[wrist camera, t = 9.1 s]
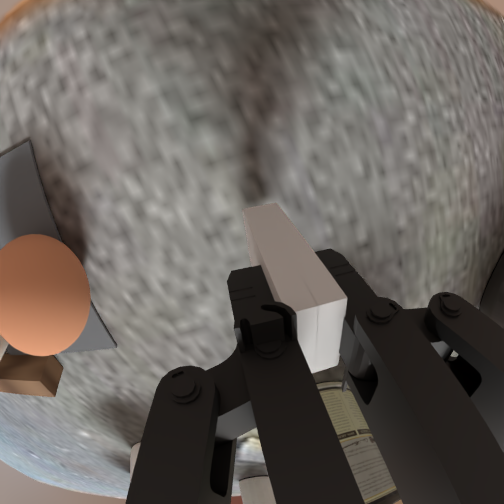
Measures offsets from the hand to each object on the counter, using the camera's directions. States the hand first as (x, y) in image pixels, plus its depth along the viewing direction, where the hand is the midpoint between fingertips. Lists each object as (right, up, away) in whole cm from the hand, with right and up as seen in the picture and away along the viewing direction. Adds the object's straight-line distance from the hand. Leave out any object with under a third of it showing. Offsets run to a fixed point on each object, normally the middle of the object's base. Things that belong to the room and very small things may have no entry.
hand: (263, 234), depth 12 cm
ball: (-11, -3, -2) cm, 12 cm away
